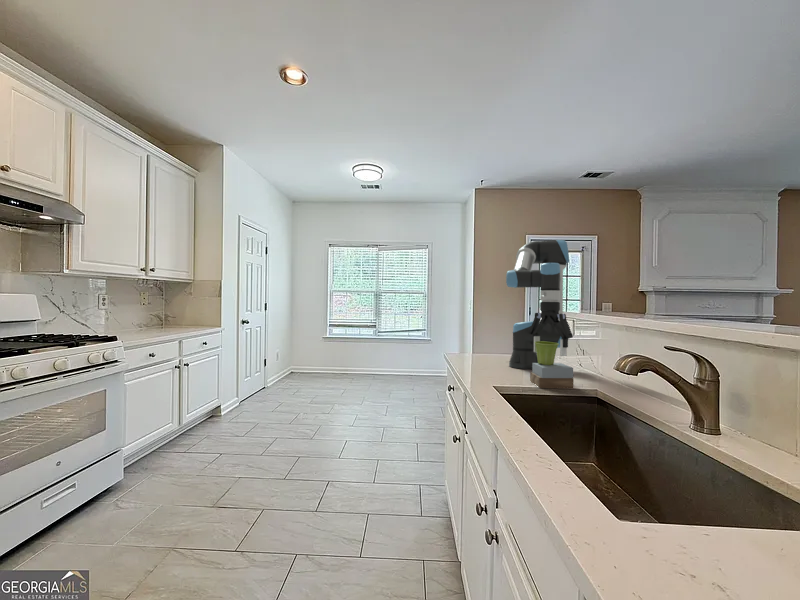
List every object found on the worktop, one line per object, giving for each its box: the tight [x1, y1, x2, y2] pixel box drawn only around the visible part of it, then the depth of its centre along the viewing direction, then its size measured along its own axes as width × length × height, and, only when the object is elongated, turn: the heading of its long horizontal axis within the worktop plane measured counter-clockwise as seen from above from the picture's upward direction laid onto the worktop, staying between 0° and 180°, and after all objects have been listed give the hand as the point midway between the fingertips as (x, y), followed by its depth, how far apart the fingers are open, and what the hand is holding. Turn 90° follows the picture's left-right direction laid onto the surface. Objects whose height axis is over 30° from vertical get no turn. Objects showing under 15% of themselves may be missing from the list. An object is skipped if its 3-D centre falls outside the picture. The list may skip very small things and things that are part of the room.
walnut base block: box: [529, 371, 575, 390], centre depth 167 cm, size 13×13×4 cm
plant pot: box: [535, 341, 559, 365], centre depth 169 cm, size 9×9×9 cm
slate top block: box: [531, 362, 574, 378], centre depth 166 cm, size 12×12×4 cm
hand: (549, 353), depth 167 cm, fingers open, 13 cm apart
